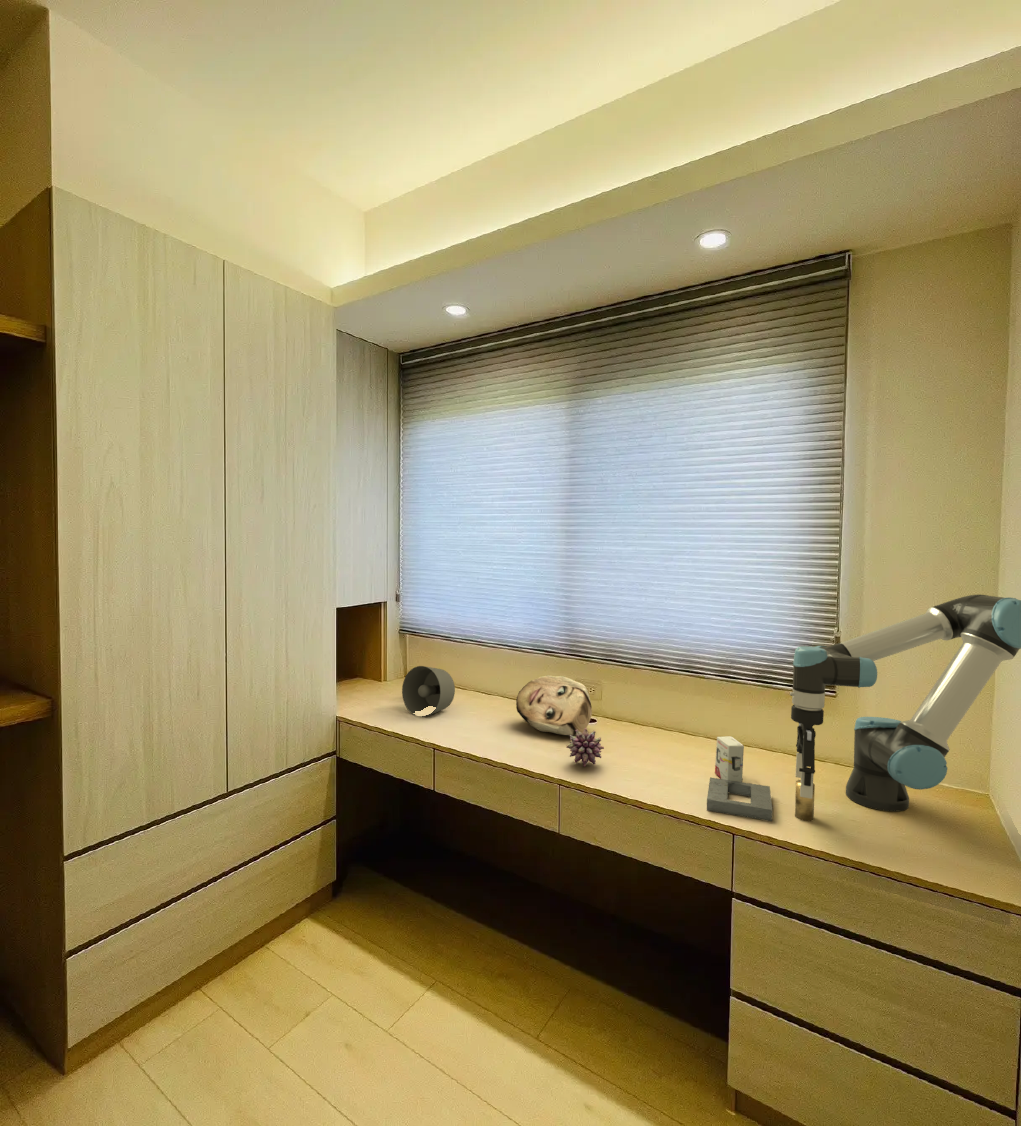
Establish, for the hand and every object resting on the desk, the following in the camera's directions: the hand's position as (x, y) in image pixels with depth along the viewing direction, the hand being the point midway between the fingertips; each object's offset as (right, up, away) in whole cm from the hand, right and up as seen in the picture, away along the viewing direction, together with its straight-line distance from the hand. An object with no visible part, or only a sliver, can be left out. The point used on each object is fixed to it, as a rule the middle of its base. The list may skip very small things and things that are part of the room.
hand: (803, 787), depth 153 cm
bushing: (0, -8, 0) cm, 8 cm away
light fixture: (-109, -4, +98) cm, 146 cm away
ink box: (-10, -7, +25) cm, 28 cm away
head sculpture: (-61, -5, +70) cm, 93 cm away
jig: (-14, -8, +8) cm, 18 cm away
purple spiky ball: (-53, -6, +34) cm, 63 cm away
